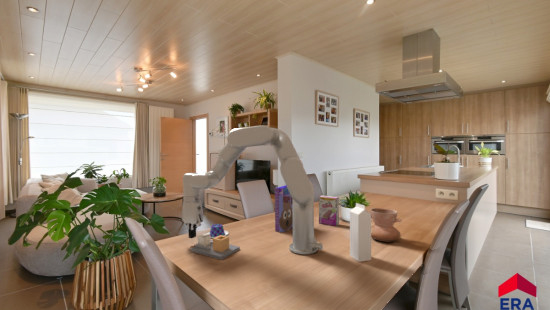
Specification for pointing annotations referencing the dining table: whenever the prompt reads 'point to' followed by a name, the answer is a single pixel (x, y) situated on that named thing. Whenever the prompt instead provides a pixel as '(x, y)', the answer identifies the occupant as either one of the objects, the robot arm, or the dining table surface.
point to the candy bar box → (329, 210)
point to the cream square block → (204, 239)
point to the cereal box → (283, 209)
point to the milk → (360, 233)
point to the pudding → (217, 231)
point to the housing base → (212, 253)
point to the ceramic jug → (384, 225)
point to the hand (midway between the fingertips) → (192, 237)
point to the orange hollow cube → (220, 243)
